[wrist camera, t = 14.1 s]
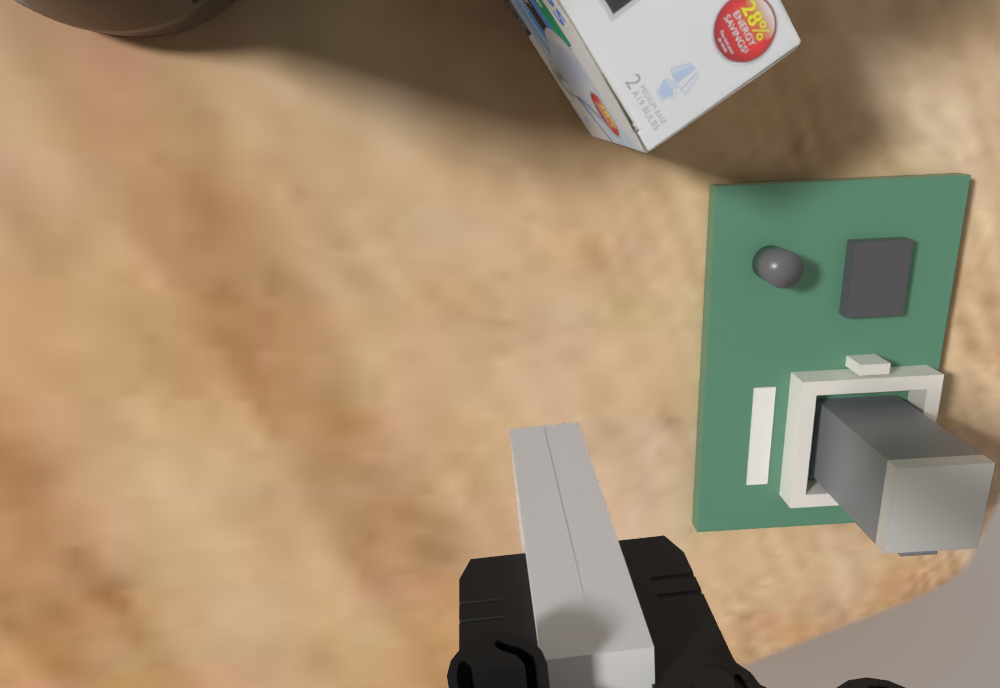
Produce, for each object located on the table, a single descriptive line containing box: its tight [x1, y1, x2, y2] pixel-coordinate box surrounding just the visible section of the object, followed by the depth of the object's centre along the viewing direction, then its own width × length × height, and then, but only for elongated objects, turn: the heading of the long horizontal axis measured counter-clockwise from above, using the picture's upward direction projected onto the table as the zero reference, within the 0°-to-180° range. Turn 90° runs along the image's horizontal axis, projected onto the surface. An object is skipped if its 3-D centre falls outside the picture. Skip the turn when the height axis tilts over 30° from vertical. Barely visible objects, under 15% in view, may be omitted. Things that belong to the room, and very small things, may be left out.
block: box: [808, 395, 995, 556], centre depth 37 cm, size 5×4×8 cm
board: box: [692, 173, 971, 532], centre depth 39 cm, size 20×13×3 cm, turn 2°
